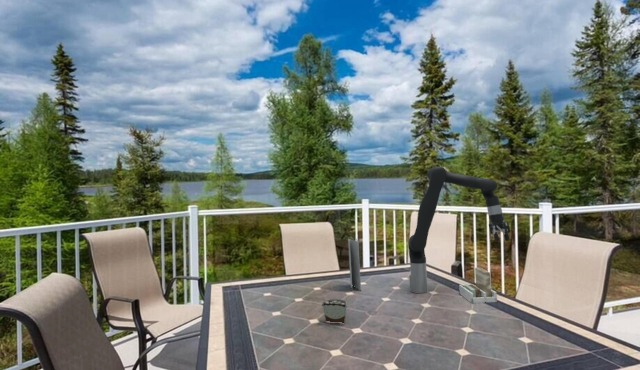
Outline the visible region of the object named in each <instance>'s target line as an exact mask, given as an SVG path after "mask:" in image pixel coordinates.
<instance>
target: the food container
mask: <svg viewBox="0 0 640 370" xmlns="http://www.w3.org/2000/svg"><path fill="white" fill-rule="evenodd" d="M321 307H322V308H323V314H324V315H323V316H324V318H325V319H324V320H325V322H326V321H330V322H342V323H345V324H346V314H347V308H348V303H347V301H346V300H345V299H340V298H331V299H326V300H324V301H322V303H321Z"/></svg>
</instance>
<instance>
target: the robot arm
mask: <svg viewBox="0 0 640 370" xmlns="http://www.w3.org/2000/svg"><path fill="white" fill-rule="evenodd" d="M426 176H427V178H428V179H429V180H430V181H429V184H428V187H427V190H426V191H425V194H424V196H423V197H422V199H421V202H420V204H419V208H418V211H417V219H416V221H417V222H416V228H415V231H414V233H413V234H412V235H411V236H410V237H409V238H408V243H407V245H408V257H409V266H410V267H409V268H410V271H409V272H410V275H409V277H408V278H409V291H410V292H411V293H415V294H426V293H428V290H429V289H428V276H427V275H428V272H427V257H426V252H425V248H427V243H428V235H429V231H430V228H431V225H432V222H433V219H434V217H435V214H436V210H437V205H438V202H439V199H440V195H441V191H442V189H443V186H444V184H445V183H448V184H453V185H456V186H460V187H464V188H468V189H472V190H480V193H481V195H482V196H483V198H484V200H485V204H486V207H487V208H486V209H487V214H488V218H489V222H490V223H489V224H488V227H489V231H490V234H491V235H493V238H494V241H495V242H499V241H500V238H499V232H501V233H503V237H504V241H505V242H508V241H510V235H509V234H511V232H512V231H511V228H510V226H509V225H510V224H509V222H504V221H505V218H504V214H503V209H502V207H501V204H500V199H499V196H498V195H495V191H496V190H497V189H498V184H497V181H496V180H493V179H491V178H484V177H476V176H473V175H467V174H462V173H461V174H460V173H454V172H450V171H447V170H446V169H445V168H444V167H442V166H433V167H431V168H430V169H428V171H427V174H426Z"/></svg>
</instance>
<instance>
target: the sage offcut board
mask: <svg viewBox="0 0 640 370" xmlns="http://www.w3.org/2000/svg"><path fill="white" fill-rule="evenodd" d="M469 285H470V284H464V286H463V287H465V288H466V289H467V290H469V291H470V292H472V293H473V298H476V290H475V289H474V288H472V287H471V286H469Z"/></svg>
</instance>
